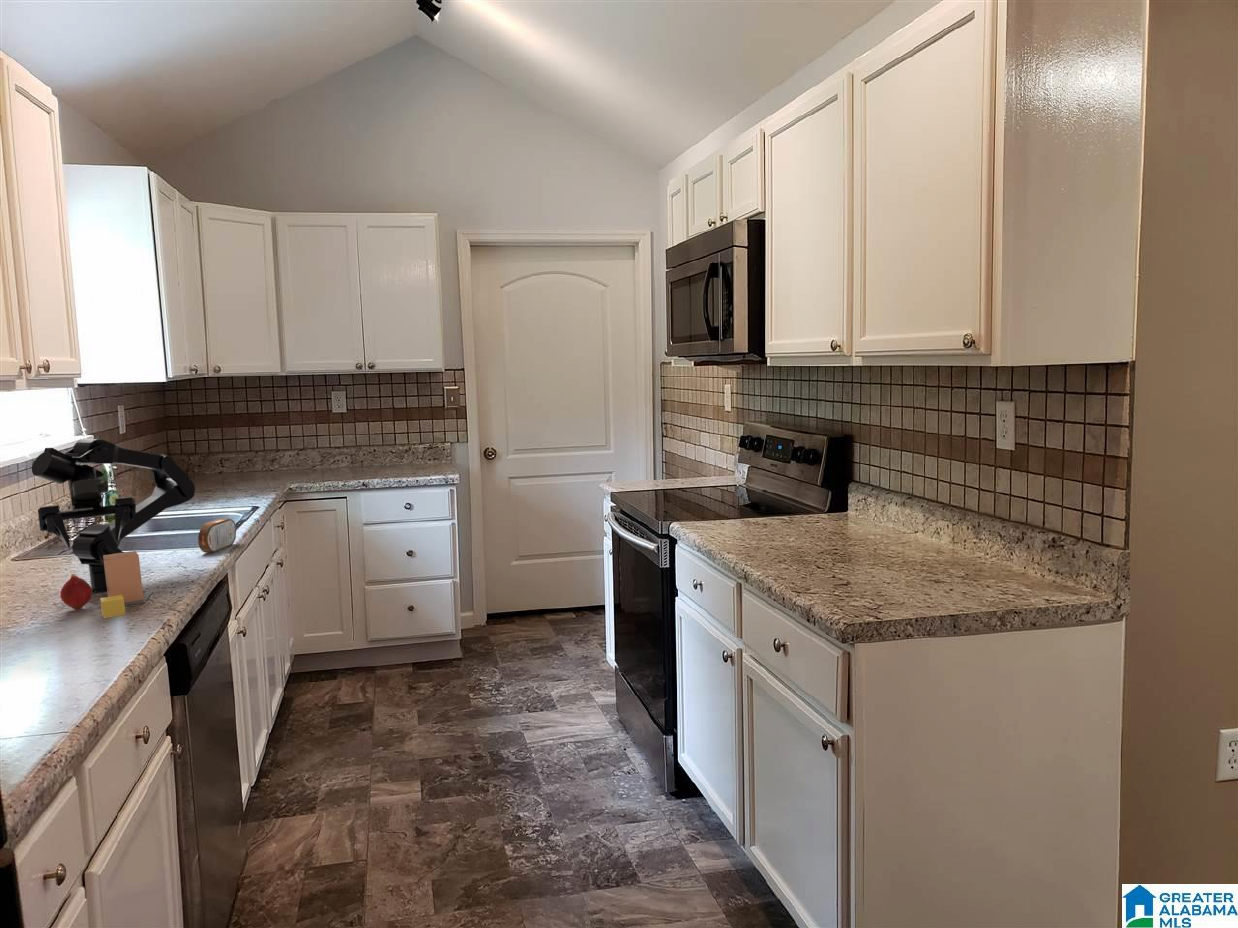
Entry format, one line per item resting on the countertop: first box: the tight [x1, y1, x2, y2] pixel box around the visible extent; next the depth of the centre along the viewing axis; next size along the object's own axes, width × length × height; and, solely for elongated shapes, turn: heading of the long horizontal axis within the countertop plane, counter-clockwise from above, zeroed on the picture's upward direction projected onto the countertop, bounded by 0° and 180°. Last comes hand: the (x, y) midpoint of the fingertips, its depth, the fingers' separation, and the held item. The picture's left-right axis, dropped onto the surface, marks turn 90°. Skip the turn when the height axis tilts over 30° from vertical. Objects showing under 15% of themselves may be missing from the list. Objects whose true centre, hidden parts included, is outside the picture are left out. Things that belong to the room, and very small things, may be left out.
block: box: [100, 595, 126, 619], centre depth 191 cm, size 4×4×4 cm
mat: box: [97, 591, 154, 609], centre depth 202 cm, size 9×9×1 cm
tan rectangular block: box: [103, 550, 144, 603], centre depth 201 cm, size 6×6×10 cm
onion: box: [59, 573, 93, 611], centre depth 195 cm, size 6×6×8 cm
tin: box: [197, 517, 237, 554], centre depth 252 cm, size 15×3×8 cm, turn 172°
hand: (93, 543), depth 198 cm, fingers open, 9 cm apart
